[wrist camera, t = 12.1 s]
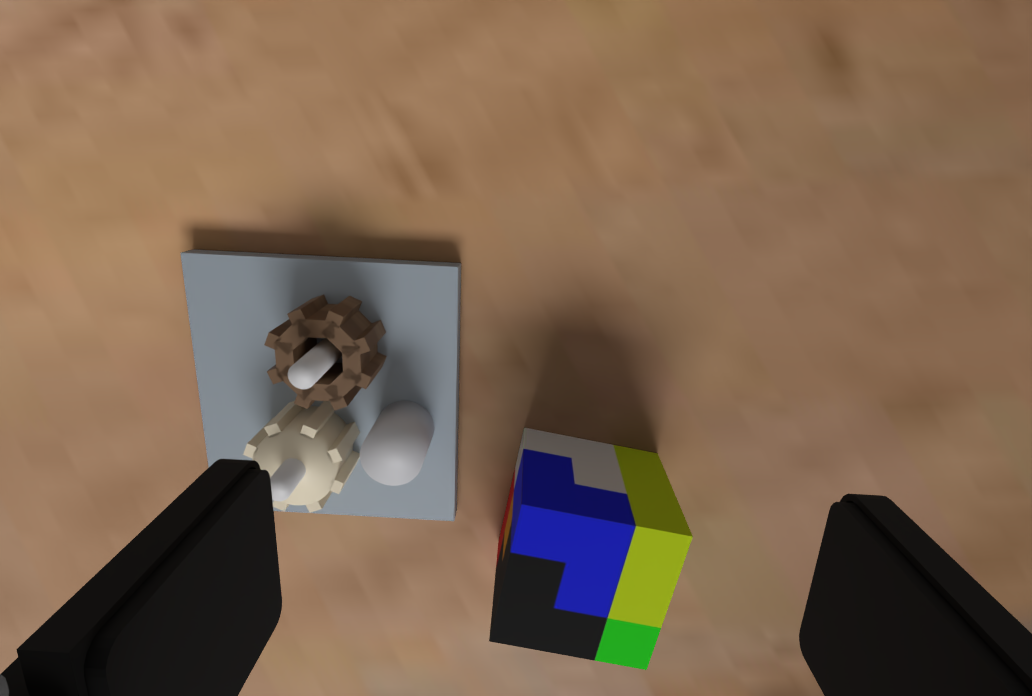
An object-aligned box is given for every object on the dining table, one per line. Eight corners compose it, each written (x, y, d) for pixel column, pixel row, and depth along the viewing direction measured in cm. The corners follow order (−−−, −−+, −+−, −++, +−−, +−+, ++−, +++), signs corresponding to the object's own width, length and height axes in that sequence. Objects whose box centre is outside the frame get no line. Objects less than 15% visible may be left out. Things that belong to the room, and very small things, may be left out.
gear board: (193, 249, 39) (110, 271, 31) (461, 263, 39) (443, 288, 31) (224, 496, 45) (160, 565, 37) (456, 509, 45) (441, 581, 37)
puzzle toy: (524, 427, 42) (521, 504, 33) (657, 452, 43) (692, 536, 33) (498, 540, 46) (489, 641, 36) (623, 564, 46) (646, 669, 36)
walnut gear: (287, 292, 38) (260, 306, 34) (385, 297, 38) (369, 312, 34) (294, 383, 40) (269, 407, 36) (387, 388, 40) (372, 412, 36)
